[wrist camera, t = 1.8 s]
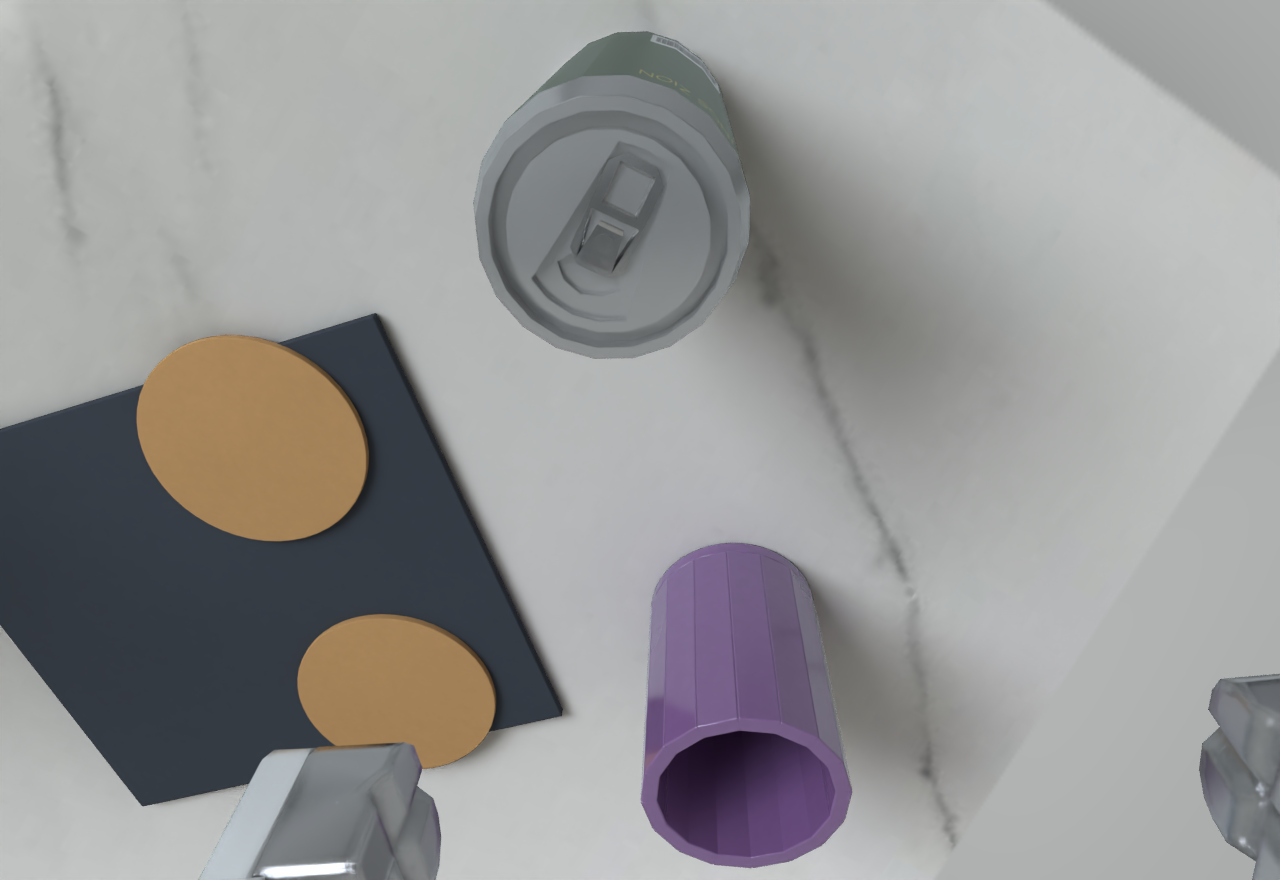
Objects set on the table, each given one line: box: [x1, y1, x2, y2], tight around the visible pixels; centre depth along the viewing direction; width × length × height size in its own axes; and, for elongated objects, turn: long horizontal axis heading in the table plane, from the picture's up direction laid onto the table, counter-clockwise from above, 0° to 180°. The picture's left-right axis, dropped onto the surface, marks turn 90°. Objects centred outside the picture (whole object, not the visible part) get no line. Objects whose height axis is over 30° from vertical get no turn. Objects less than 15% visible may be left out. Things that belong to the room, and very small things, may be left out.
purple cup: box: [641, 543, 852, 868], centre depth 32 cm, size 6×6×9 cm
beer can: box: [473, 31, 750, 359], centre depth 23 cm, size 5×5×12 cm
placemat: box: [0, 313, 563, 806], centre depth 36 cm, size 20×20×1 cm
